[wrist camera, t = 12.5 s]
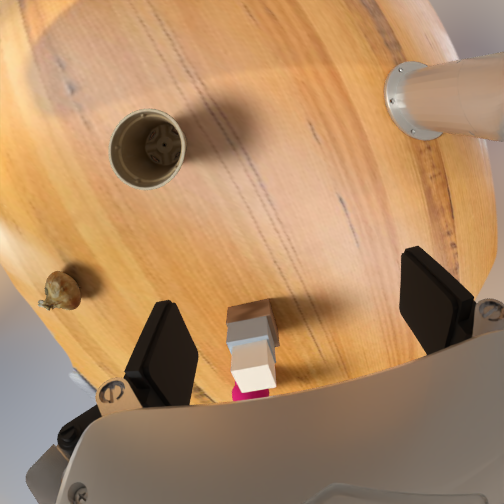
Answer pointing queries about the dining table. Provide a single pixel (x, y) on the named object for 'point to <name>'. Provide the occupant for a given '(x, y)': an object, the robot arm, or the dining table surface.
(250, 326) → the slate block
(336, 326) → the dining table surface
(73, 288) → the onion
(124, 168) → the flower pot
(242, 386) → the cream block
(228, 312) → the walnut block
